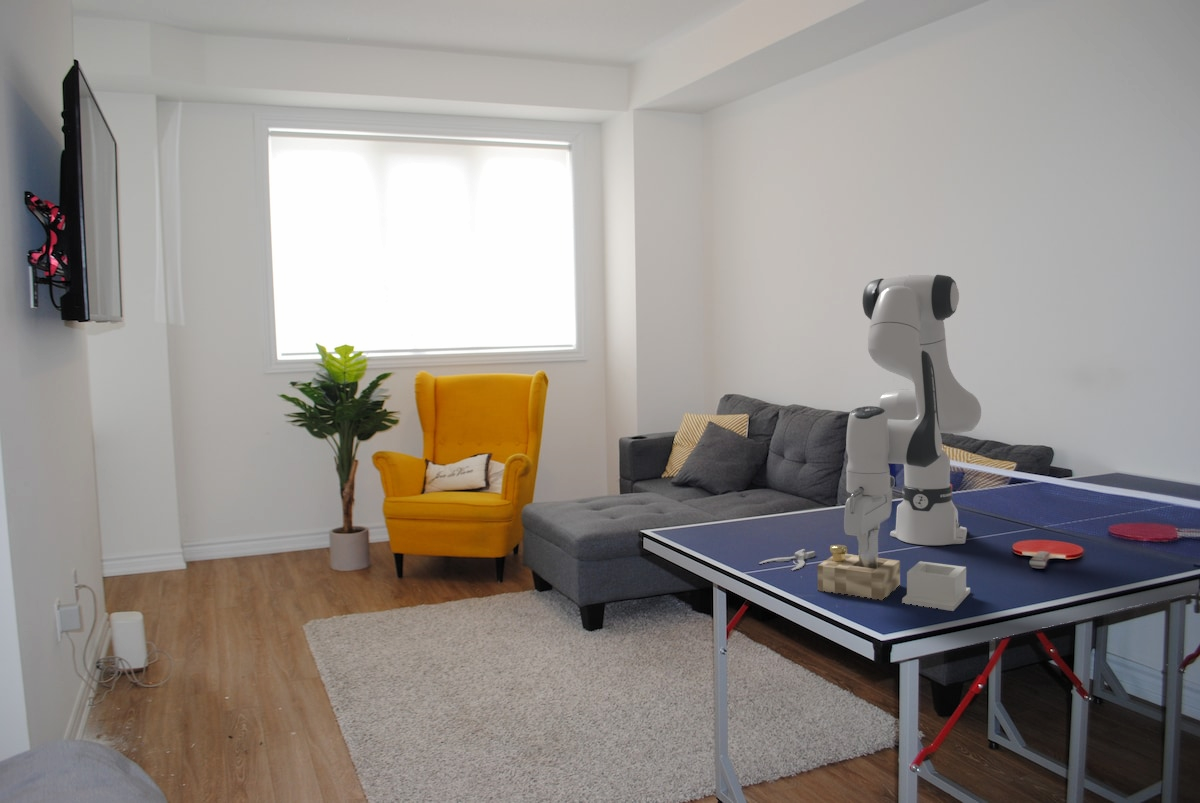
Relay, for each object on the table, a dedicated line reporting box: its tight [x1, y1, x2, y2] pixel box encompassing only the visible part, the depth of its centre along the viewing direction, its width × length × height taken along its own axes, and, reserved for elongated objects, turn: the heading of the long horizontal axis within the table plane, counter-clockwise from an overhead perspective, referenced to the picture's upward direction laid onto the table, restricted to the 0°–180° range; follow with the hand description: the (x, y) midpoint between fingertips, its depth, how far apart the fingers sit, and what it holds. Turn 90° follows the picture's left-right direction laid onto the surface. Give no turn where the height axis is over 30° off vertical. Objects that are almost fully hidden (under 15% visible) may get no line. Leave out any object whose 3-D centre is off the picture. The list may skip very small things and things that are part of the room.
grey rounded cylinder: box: [858, 528, 879, 569], centre depth 194 cm, size 4×4×12 cm
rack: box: [901, 560, 971, 612], centre depth 187 cm, size 14×10×6 cm
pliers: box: [758, 548, 816, 572], centre depth 219 cm, size 10×2×15 cm
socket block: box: [816, 553, 901, 601], centre depth 196 cm, size 12×14×6 cm
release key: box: [829, 544, 848, 562], centre depth 198 cm, size 4×4×8 cm
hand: (868, 547), depth 194 cm, fingers closed on grey rounded cylinder, 4 cm apart
